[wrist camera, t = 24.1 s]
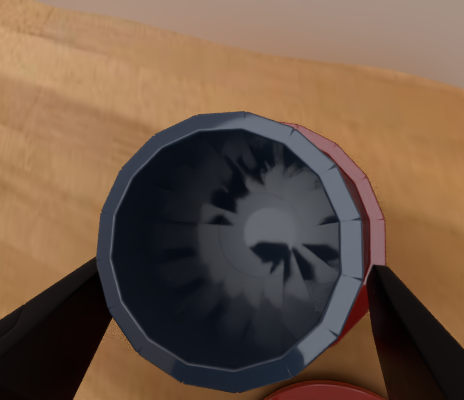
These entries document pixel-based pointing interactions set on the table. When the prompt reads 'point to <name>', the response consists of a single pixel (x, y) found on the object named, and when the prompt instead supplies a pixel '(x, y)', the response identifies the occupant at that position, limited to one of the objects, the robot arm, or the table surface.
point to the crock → (230, 251)
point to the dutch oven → (369, 214)
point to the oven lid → (323, 391)
